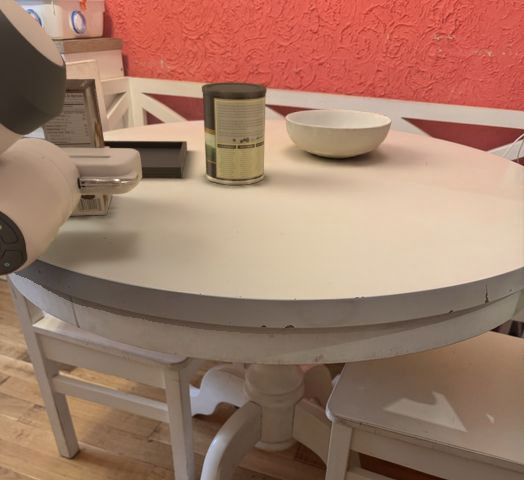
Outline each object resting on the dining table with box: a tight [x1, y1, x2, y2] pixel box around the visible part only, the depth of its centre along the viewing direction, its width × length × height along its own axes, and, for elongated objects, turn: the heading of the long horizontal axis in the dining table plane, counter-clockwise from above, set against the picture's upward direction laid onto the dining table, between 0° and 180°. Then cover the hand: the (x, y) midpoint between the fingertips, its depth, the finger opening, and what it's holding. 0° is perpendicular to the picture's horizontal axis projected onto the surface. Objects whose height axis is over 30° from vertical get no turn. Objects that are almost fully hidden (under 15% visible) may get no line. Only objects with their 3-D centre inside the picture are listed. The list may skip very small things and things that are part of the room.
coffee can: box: [201, 81, 268, 186], centre depth 83 cm, size 10×10×14 cm
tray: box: [104, 140, 188, 179], centre depth 93 cm, size 18×20×2 cm
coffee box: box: [41, 78, 113, 217], centre depth 69 cm, size 9×6×16 cm
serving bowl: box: [284, 109, 392, 159], centre depth 101 cm, size 21×21×7 cm
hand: (67, 152), depth 65 cm, fingers open, 8 cm apart
